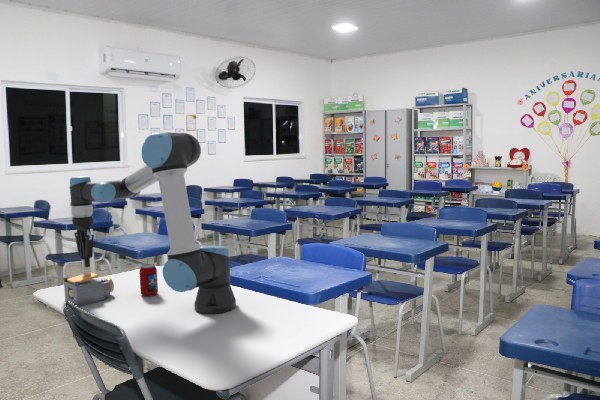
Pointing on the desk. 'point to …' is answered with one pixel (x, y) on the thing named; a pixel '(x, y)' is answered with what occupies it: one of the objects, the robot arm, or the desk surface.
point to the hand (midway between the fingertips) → (86, 274)
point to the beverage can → (148, 280)
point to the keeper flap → (82, 278)
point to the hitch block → (86, 291)
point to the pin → (103, 282)
